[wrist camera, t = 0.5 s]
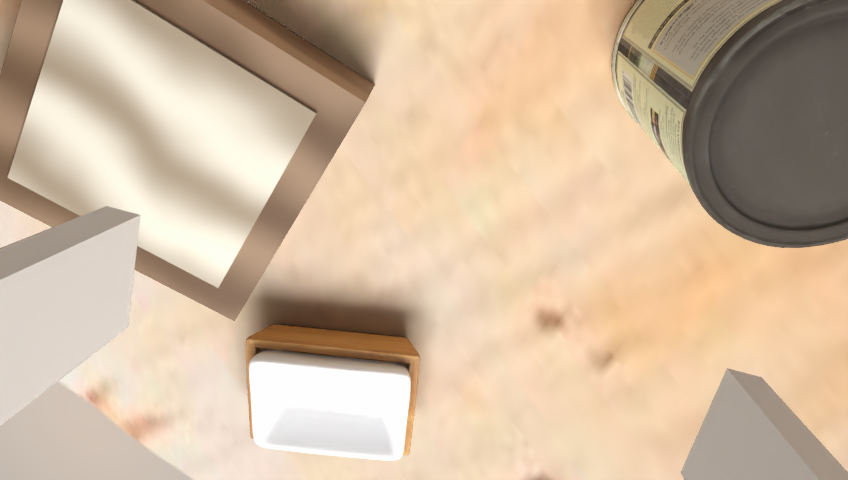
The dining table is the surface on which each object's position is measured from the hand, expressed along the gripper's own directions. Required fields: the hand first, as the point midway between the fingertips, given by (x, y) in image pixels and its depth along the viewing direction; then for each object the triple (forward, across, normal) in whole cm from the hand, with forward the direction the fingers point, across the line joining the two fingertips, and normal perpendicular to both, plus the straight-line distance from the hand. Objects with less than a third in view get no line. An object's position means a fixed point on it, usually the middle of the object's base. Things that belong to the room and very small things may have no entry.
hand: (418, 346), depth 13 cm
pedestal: (+26, -17, -2) cm, 31 cm away
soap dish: (+31, -4, -19) cm, 37 cm away
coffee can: (+26, +12, +10) cm, 30 cm away
